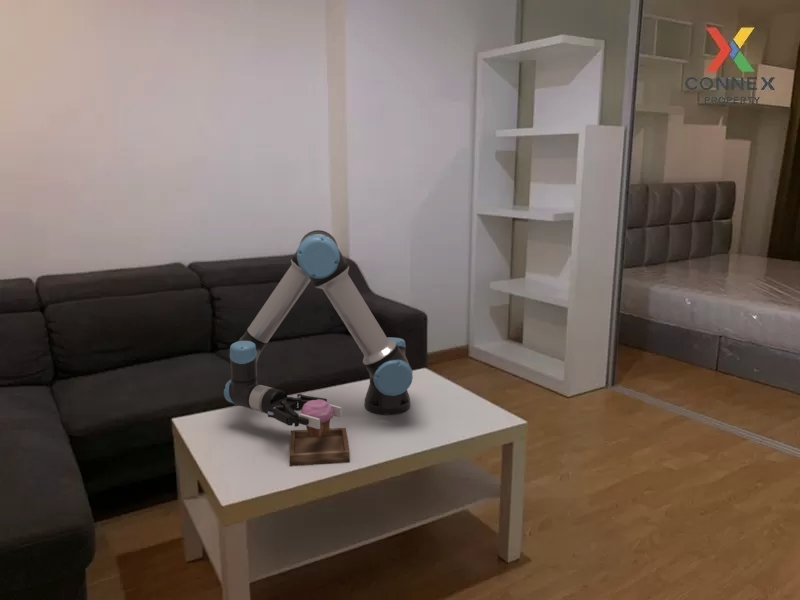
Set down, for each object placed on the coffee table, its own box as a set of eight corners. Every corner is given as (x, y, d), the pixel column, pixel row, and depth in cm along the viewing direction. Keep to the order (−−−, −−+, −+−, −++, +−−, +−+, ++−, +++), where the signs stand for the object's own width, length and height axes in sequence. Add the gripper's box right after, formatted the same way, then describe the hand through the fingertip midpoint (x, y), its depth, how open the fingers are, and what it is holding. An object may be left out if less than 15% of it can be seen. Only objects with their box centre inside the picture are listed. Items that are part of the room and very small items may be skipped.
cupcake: (322, 443, 174) (321, 409, 172) (295, 437, 177) (294, 403, 175) (339, 431, 182) (339, 398, 179) (313, 425, 185) (312, 392, 183)
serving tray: (346, 436, 190) (345, 427, 189) (349, 462, 174) (349, 452, 173) (291, 440, 187) (290, 430, 187) (289, 466, 172) (289, 455, 171)
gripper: (293, 401, 197) (353, 417, 186) (242, 425, 179) (304, 445, 168) (293, 377, 195) (353, 393, 184) (241, 400, 178) (304, 418, 166)
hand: (330, 418), depth 176 cm, fingers closed on cupcake, 9 cm apart
